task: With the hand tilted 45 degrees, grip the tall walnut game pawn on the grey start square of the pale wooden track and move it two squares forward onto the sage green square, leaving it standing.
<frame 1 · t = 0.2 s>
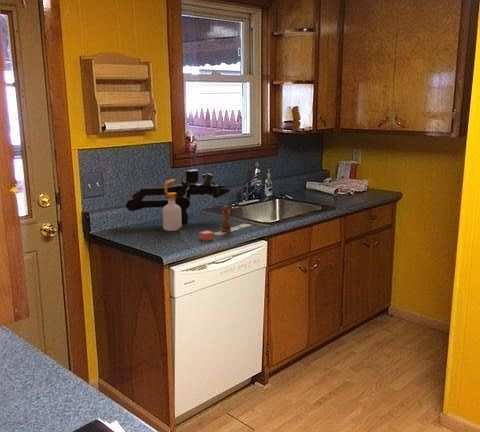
hand: (228, 188, 273), 17 cm above the countertop, tool horizontal, fingers open, 9 cm apart
track board: (232, 231, 251), on the countertop
die: (206, 241, 234), on the countertop
pawn: (226, 231, 247), point 1 cm above the countertop, touching track board
soap bottle: (172, 229, 257), on the countertop
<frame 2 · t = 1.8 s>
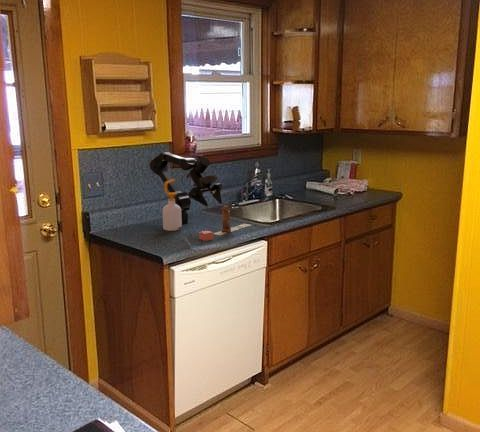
hand: (214, 204, 250), 13 cm above the countertop, tool tilted 45°, fingers open, 9 cm apart
nothing on the countertop moved.
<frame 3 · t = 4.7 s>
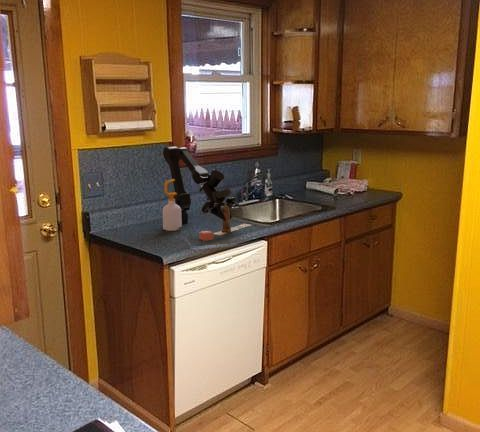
hand: (228, 219, 245), 7 cm above the countertop, tool tilted 45°, fingers closed on pawn, 4 cm apart
pawn: (226, 231, 247), point 1 cm above the countertop, touching gripper, track board
everything else where it was.
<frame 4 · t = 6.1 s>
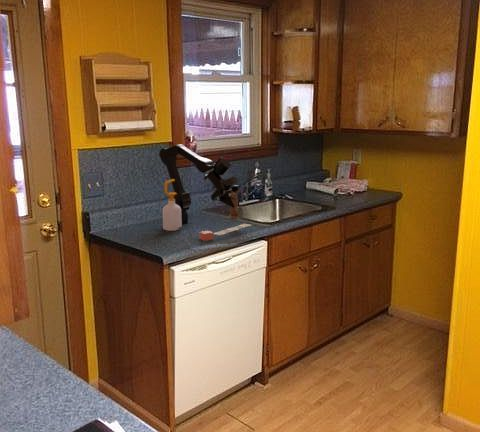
hand: (236, 206, 248), 12 cm above the countertop, tool tilted 45°, fingers closed on pawn, 4 cm apart
pawn: (234, 218, 250), point 7 cm above the countertop, touching gripper
everything else where it was.
when the fingers open (8 cm above the countertop, at t = 7.7 s): pawn drops 1 cm, resting on track board.
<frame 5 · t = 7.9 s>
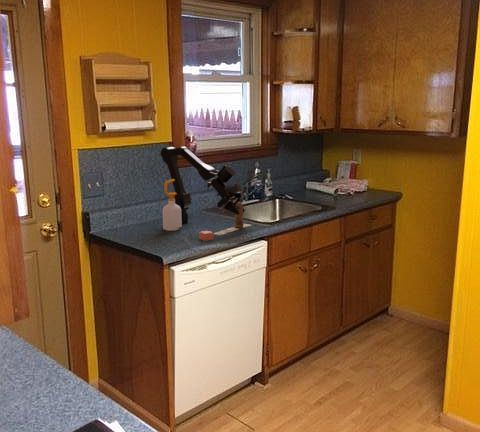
hand: (241, 213, 253), 8 cm above the countertop, tool tilted 45°, fingers open, 5 cm apart
pawn: (238, 227, 255), point 1 cm above the countertop, touching track board
everything else where it was.
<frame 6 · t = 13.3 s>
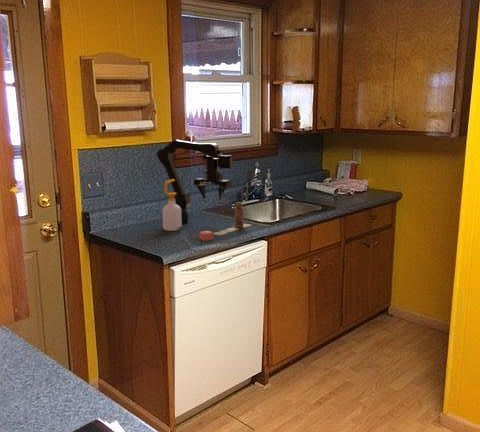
hand: (212, 199, 263), 13 cm above the countertop, tool pointing down, fingers open, 9 cm apart
nothing on the countertop moved.
at the end: pawn 0.0 cm from the target spot, point 1.3 cm above the countertop; pawn tilted 0°; the gripper is holding nothing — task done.
